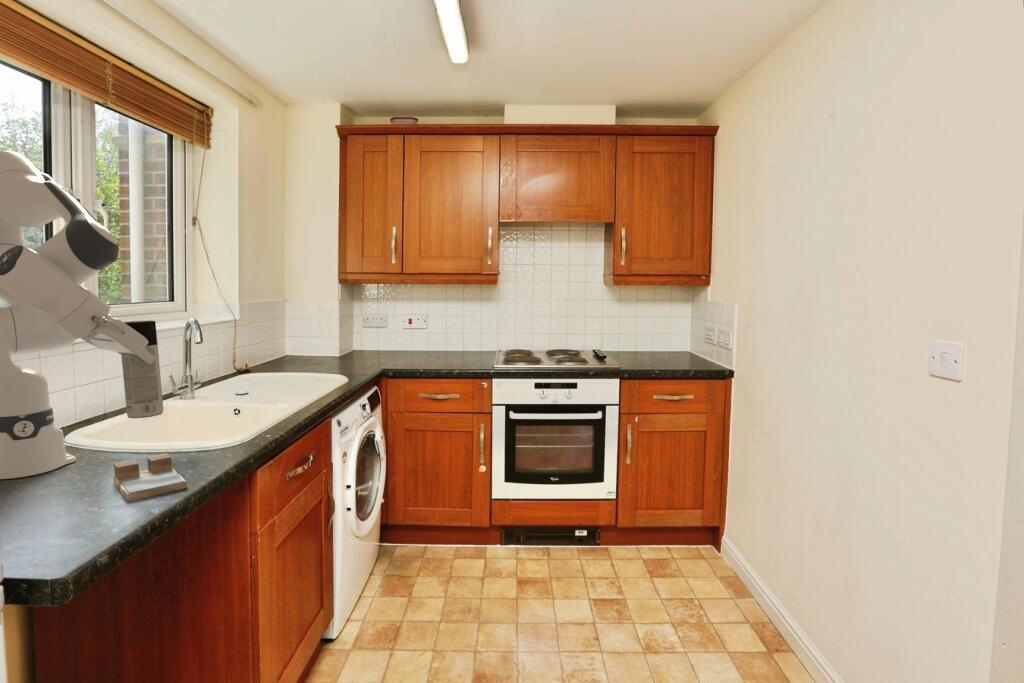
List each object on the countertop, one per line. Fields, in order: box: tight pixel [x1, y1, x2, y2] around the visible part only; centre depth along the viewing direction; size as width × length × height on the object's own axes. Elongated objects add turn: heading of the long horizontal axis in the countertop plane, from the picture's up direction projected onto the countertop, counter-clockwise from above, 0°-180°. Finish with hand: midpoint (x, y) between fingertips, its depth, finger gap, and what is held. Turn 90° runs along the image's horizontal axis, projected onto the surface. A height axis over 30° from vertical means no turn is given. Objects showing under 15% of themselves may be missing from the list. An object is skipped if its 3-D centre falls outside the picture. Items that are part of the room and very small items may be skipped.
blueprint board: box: [113, 452, 188, 502], centre depth 129 cm, size 15×11×4 cm
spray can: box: [120, 320, 164, 419], centre depth 124 cm, size 7×7×20 cm
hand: (143, 359), depth 125 cm, fingers closed on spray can, 7 cm apart
